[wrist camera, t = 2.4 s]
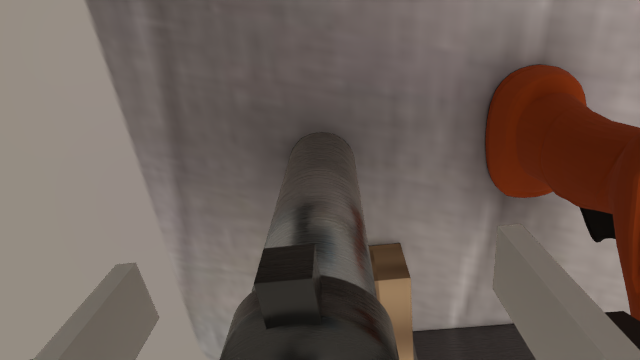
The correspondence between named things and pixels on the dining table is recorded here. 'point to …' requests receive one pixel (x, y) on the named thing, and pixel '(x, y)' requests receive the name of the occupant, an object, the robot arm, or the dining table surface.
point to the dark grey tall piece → (314, 269)
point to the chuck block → (471, 344)
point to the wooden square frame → (394, 293)
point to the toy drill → (568, 158)
